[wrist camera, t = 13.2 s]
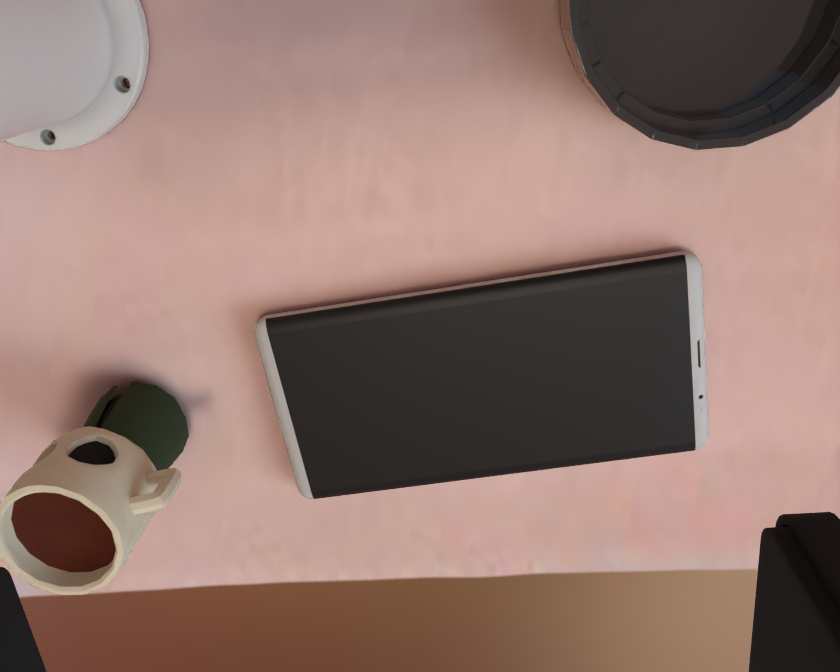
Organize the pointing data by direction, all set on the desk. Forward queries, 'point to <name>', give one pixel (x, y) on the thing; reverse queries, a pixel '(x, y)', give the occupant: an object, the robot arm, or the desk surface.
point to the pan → (706, 64)
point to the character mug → (94, 492)
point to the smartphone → (492, 376)
